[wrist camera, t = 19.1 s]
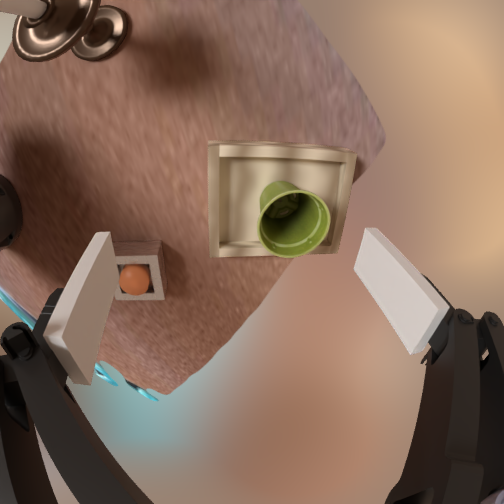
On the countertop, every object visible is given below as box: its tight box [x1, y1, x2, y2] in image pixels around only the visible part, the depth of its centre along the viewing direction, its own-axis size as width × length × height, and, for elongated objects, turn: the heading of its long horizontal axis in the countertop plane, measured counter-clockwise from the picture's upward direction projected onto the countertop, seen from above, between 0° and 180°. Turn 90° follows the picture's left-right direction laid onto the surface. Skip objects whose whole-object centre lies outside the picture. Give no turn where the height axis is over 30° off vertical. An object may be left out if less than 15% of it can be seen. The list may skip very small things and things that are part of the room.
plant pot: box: [257, 181, 330, 258], centre depth 38 cm, size 9×9×9 cm
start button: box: [119, 264, 151, 296], centre depth 43 cm, size 5×5×3 cm
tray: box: [208, 141, 357, 257], centre depth 42 cm, size 21×17×4 cm
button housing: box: [112, 240, 167, 300], centre depth 45 cm, size 9×9×4 cm
